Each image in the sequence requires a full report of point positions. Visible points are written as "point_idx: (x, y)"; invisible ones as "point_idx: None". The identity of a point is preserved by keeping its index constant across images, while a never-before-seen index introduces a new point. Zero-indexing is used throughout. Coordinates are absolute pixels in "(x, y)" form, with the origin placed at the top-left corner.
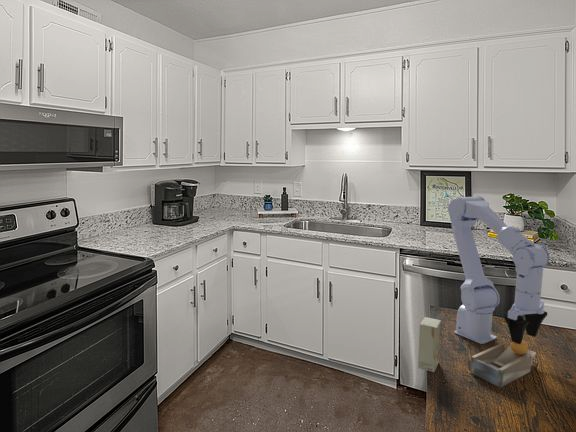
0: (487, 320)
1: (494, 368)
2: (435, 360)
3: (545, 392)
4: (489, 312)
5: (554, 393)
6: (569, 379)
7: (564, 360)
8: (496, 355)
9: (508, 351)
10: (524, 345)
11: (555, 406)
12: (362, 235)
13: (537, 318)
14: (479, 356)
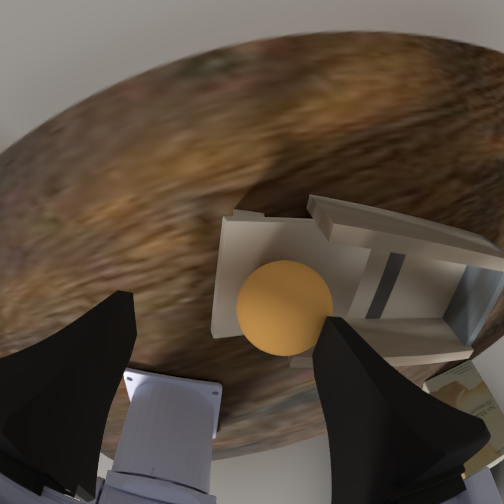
0: (174, 455)
1: (502, 284)
2: (477, 380)
3: (434, 112)
4: (162, 484)
5: (419, 83)
6: (246, 49)
7: (68, 134)
8: None
9: None
10: (311, 293)
11: (480, 83)
12: None
13: (61, 409)
14: (453, 349)
